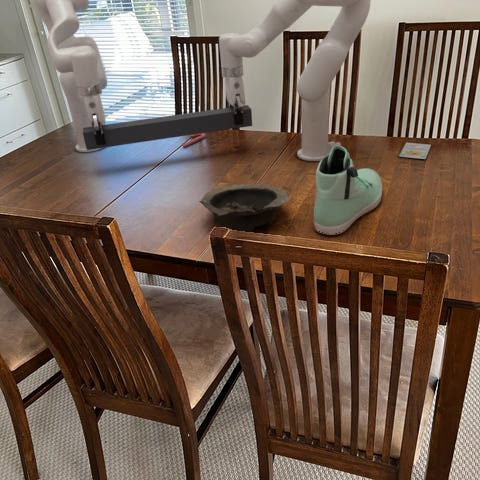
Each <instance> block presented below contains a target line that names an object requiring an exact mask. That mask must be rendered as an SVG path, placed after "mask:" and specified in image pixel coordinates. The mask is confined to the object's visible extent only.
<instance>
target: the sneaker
mask: <svg viewBox="0 0 480 480" xmlns="http://www.w3.org/2000/svg"><path fill="white" fill-rule="evenodd" d="M317 165H318V166H317V168H316V172H315V201H314V207H313V225H314V229H315V231H316V232H318V233H320V234H323V235H326V236H327V235H328V236H336V235H339V234H342V233H344V232H345V231H347V230H348V229H349V228H350V227H351V226H352V225H353V224H354V222H356V221H357V220H358V219H359V218H360V217H362V216H363V215H365V214H367V213H370V212H372V210H374V209H375V208H377V207H378V205H380V203H381V200H382V196H383V184H382V183H383V182H382V179H381V176H380V175H379V173H378V172H377V171H376V170H374V169H372V168H367V167H365V168H358V169H357V168H355V167H354V161H353V159H352V158H351V156H350V153H349V152H348V150H347V148H345V147H344V146H342V145H341V146H334V147H333V148H332V149H331V152H330V154H329V155H327V156H326V157H325V158H324V159H322V160H321V161H319V163H318V164H317ZM343 230H344V231H343ZM319 231H320V232H319ZM322 232H323V233H322ZM339 232H340V233H339ZM326 233H327V234H326ZM328 233H329V234H328ZM335 233H337V234H335Z"/></svg>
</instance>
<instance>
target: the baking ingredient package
mask: <svg viewBox="0 0 480 480" xmlns="http://www.w3.org/2000/svg"><path fill="white" fill-rule="evenodd" d="M431 146H432V144H426V143H415V142H406V143H405V144H404V146H403V148H402V149H401V151H400V153H399V155H398V156H399V157H401V158H410V159H420V160H422V159H423V160H426V159H427V157H428V154H429V152H430V149H431Z"/></svg>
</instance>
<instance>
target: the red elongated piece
mask: <svg viewBox="0 0 480 480" xmlns="http://www.w3.org/2000/svg"><path fill="white" fill-rule="evenodd" d="M190 137H191V138H193V139H191V140H189V141H187V142H185V143H182V147H183V148H187V147H189V146H191V145H193V144H194V143H197V142H199V141H200V140H203V139H204V138H206V133H200V134H194V135H190Z"/></svg>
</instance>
